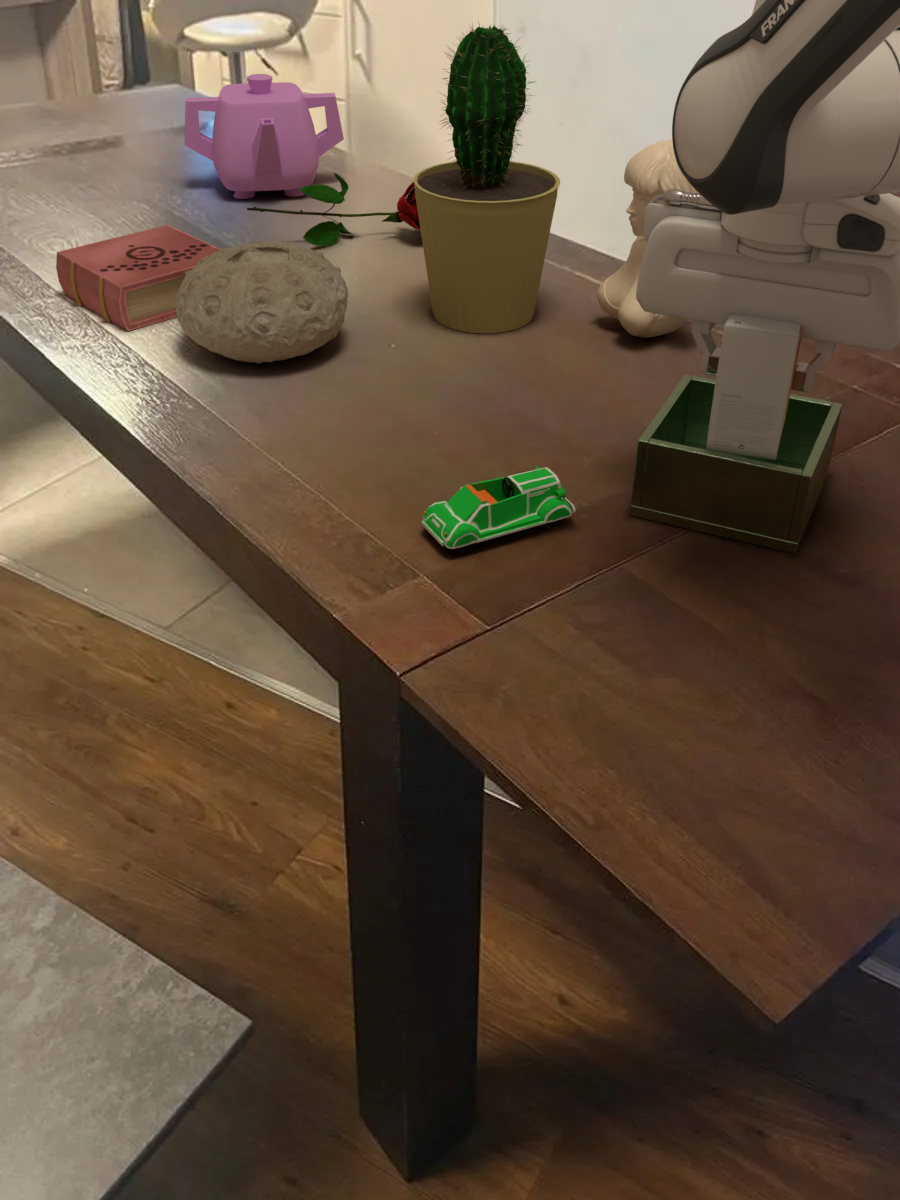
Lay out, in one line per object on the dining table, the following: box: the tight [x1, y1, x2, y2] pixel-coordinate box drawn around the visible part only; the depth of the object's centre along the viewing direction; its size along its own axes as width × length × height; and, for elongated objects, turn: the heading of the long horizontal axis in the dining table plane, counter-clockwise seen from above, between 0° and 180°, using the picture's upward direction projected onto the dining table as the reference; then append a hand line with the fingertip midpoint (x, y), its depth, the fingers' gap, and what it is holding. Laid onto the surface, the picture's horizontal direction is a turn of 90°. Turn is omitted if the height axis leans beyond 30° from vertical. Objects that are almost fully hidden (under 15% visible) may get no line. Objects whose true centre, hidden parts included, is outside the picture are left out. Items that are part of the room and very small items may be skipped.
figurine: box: [596, 139, 698, 339], centre depth 123 cm, size 14×9×20 cm
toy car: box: [420, 465, 577, 555], centre depth 95 cm, size 12×5×4 cm, turn 117°
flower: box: [246, 172, 421, 248], centre depth 150 cm, size 9×10×30 cm
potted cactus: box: [412, 21, 561, 334], centre depth 124 cm, size 15×15×30 cm
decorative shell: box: [176, 240, 349, 365], centre depth 123 cm, size 18×18×10 cm
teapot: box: [183, 73, 345, 200], centre depth 167 cm, size 19×18×15 cm
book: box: [55, 224, 222, 332], centre depth 135 cm, size 14×15×5 cm
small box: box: [706, 315, 802, 460], centre depth 93 cm, size 8×6×10 cm
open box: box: [629, 374, 843, 554], centre depth 98 cm, size 14×14×7 cm
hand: (756, 380), depth 93 cm, fingers closed on small box, 6 cm apart
